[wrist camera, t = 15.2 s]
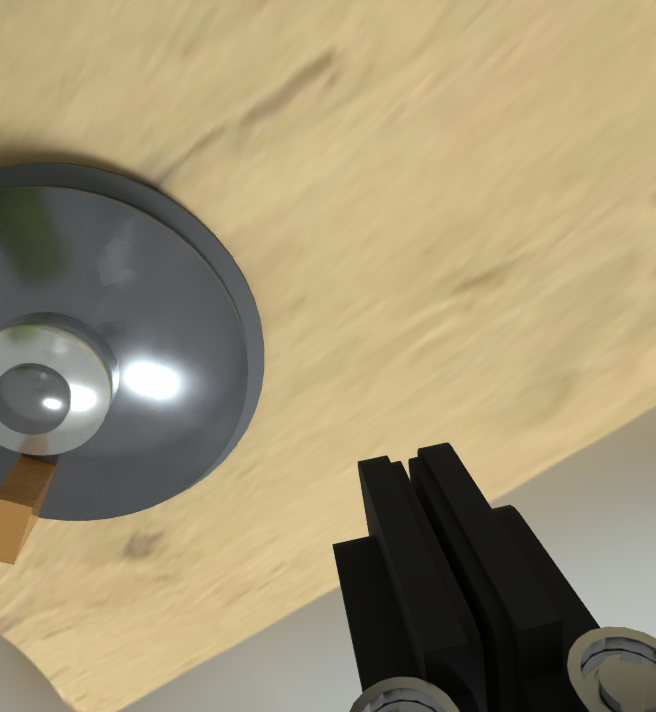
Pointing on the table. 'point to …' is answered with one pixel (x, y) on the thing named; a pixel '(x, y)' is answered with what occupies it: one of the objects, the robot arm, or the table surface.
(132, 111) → the table surface
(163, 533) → the table surface
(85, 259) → the turntable
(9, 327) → the cover
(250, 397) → the turntable base
